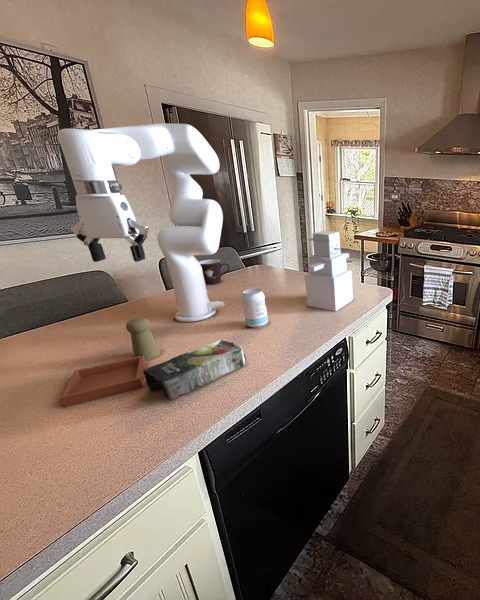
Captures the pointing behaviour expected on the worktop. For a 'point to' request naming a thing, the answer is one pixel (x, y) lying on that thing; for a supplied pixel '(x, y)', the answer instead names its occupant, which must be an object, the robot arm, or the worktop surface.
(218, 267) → the coffee mug
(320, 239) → the blocky snowman figure
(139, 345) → the cork
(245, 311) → the beverage can
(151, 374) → the juice carton
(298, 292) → the worktop surface
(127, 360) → the tray
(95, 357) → the worktop surface
